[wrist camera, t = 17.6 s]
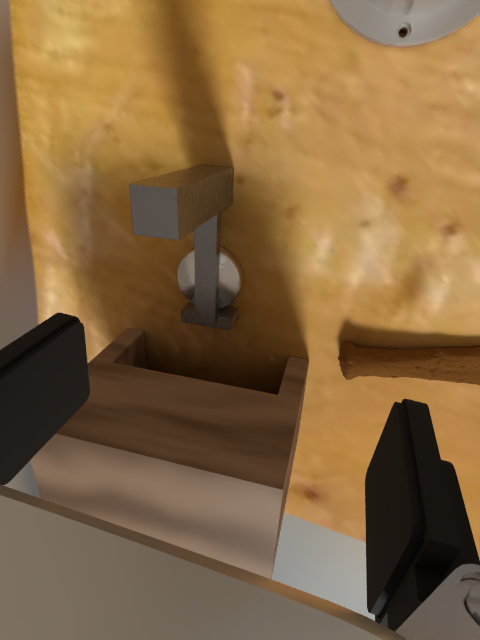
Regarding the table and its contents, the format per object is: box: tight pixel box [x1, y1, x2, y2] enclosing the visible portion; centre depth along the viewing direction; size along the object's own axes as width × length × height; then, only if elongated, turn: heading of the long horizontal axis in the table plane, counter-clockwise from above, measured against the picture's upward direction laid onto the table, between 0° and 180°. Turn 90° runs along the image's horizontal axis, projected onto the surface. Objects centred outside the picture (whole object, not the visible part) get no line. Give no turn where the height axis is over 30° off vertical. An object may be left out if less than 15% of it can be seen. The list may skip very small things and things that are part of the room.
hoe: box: [129, 165, 239, 330], centre depth 31 cm, size 14×5×12 cm, turn 178°
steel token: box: [177, 246, 243, 309], centre depth 37 cm, size 6×6×2 cm
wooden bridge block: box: [30, 328, 309, 579], centre depth 37 cm, size 10×20×16 cm, turn 88°
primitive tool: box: [338, 341, 480, 385], centre depth 34 cm, size 19×6×4 cm, turn 97°
